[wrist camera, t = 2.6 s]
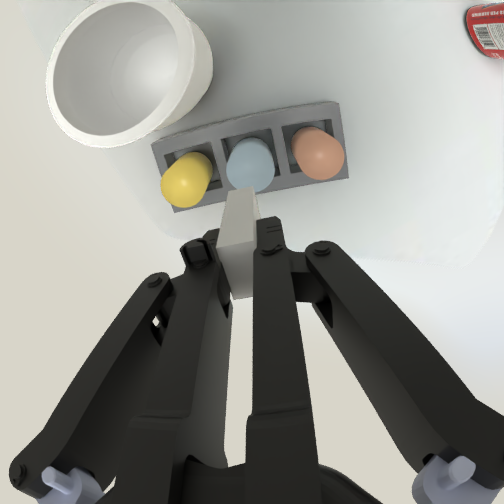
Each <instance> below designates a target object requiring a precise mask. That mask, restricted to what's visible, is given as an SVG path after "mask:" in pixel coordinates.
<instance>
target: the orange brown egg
mask: <svg viewBox="0 0 504 504" xmlns="http://www.w3.org/2000/svg"><path fill="white" fill-rule="evenodd" d="M291 151H292V154H293V156H294V157H295V159H296V161H297V163H298V164H299V166H300V168H301V170H302V171H303V172H304V173H305V174H306V175H307V176H308V177H310V178H312V179H316V180H326V179H329V178H331V177H333V176H335V175H336V174H337V173H338V172H339V171H340V170H341V168H342V166H343V163H344V151H343V148H342V146H341V144H340V143H339V142H338V141H337V140H336V139H335V138H333V137H332V136H330V135H329V134H327V133H326V132H324V131H323V130H321V129H319V128H317V127H312V126H309V127H304V128H301V129H300V130H298V131H297V132H296V133H295V134H294V136H293V137H292V140H291Z"/></svg>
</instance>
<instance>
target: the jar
mask: <svg viewBox="0 0 504 504" xmlns="http://www.w3.org/2000/svg"><path fill="white" fill-rule="evenodd" d="M212 77H213V58H212V51H211V48H210V45H209V42H208V40H207V38H206V36H205V35H204V33H203V32H202V30H201V29H200V28H199V27H198V26H197V25H196V24H195V23H194V22H193V21H192V20H190V19H189V18H188V17H186V15H185V14H184V13H183V11H182V10H181V9H180V8H179V7H178V6H177V5H176V4H175V3H173V2H172V1H171V0H99V1H97V2H95V3H94V4H92V5H90V6H89V7H87V8H86V9H85V10H83V11H82V12H81V13H80V14H79V15H78V16H77V17H76V18H74V20H73V21H72V22H71V23H70V24H69V25H68V26H67V28H66V29H65V30H64V32H63V33H62V34H61V36H60V38H59V39H58V41H57V43H56V45H55V47H54V49H53V52H52V54H51V57H50V60H49V64H48V68H47V74H46V95H47V101H48V105H49V108H50V111H51V113H52V115H53V117H54V119H55V121H56V123H57V124H58V125H59V127H60V128H61V129H62V130H63V131H64V132H65V133H66V134H67V135H68V136H69V137H71V138H72V139H74V140H76V141H77V142H79V143H82V144H84V145H87V146H91V147H97V148H112V147H118V146H122V145H126V144H129V143H132V142H134V141H137V140H139V139H141V138H143V137H145V136H147V135H148V134H150V133H151V132H154V131H157V130H160V129H162V128H165V127H167V126H169V125H171V124H173V123H174V122H176V121H178V120H179V119H181V118H182V117H183V116H185V115H186V114H187V113H188V112H189V111H190V110H192V109H193V108H194V106H195V105H196V104H197V103H198V102H199V100H200V99H201V98H202V96H203V95H204V94H205V93H206V91H207V90H208V88H209V86H210V84H211V81H212Z"/></svg>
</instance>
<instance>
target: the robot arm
mask: <svg viewBox="0 0 504 504" xmlns="http://www.w3.org/2000/svg"><path fill="white" fill-rule="evenodd" d="M180 252H181V255H182V257H183V260H184V262H185V265H186V268H185V271H184V274H182V275H180V276H178V277H175V278H172V279H170V277H169V275H168V274H167V273H164V272H159V273H155V274H152V275H150V276H149V277H147V278H146V279H145V280H144V281H143V282H142V283H141V284H140V286H139V287H138V288H137V290H136V291H135V292H134V294H133V295H132V296H131V298H130V299H129V300H128V302H127V303H126V304H125V306H124V307H123V308H122V310H121V311H120V313H119V314H118V315H117V317H116V318H115V319H114V321H113V322H112V323H111V325H110V326H109V328H108V329H107V330H106V332H105V333H104V335H103V336H102V338H101V339H100V341H99V342H98V343H97V345H96V346H95V348H94V349H93V351H92V352H91V354H90V355H89V357H88V358H87V359H86V361H85V362H84V364H83V365H82V367H81V368H80V370H79V372H78V373H77V375H76V376H75V378H74V379H73V381H72V382H71V384H70V386H69V387H68V389H67V391H66V392H65V394H64V395H63V397H62V398H61V400H60V402H59V403H58V405H57V407H56V408H55V410H54V411H53V413H52V415H51V417H50V418H49V420H48V422H47V423H46V425H45V427H44V429H43V430H42V431H41V432H40V433H39V434H38V435H37V436H36V437H35V438H34V439H33V440H32V441H31V442H30V443H29V444H28V445H27V446H26V447H25V448H24V449H23V450H22V451H21V452H20V453H19V454H18V455H17V456H16V457H15V458H14V460H13V461H12V463H11V465H10V468H9V478H10V481H11V484H12V485H13V487H15V488H16V489H17V490H19V491H21V492H23V493H25V494H27V495H29V496H31V497H33V498H35V499H36V500H37V501H38V503H39V504H383V503H381V502H380V501H378V500H377V499H376V498H374V497H373V496H372V495H370V494H369V493H367V492H366V491H365V490H364V489H362V488H361V487H359V486H358V485H357V484H356V483H355V482H353V481H352V480H351V479H349V478H348V477H347V476H345V475H344V474H342V473H340V472H339V471H337V470H334V469H332V468H330V467H327V466H324V465H320V464H319V463H318V455H317V446H316V437H315V429H314V422H313V413H312V406H311V398H310V391H309V384H308V377H307V370H306V364H305V356H304V350H303V343H302V337H301V330H300V324H299V319H298V312H297V306H296V302H310V303H312V306H313V308H314V310H315V312H316V313H317V315H318V316H319V318H320V320H321V321H322V323H323V324H324V326H325V328H326V329H327V331H328V332H329V334H330V335H331V337H332V339H333V341H334V342H335V344H336V345H337V347H338V349H339V350H340V352H341V353H342V355H343V357H344V358H345V360H346V362H347V363H348V365H349V367H350V368H351V370H352V372H353V373H354V375H355V377H356V378H357V380H358V382H359V383H360V385H361V387H362V388H363V390H364V391H365V393H366V395H367V397H368V398H369V400H370V402H371V403H372V405H373V406H374V408H375V410H376V412H377V413H378V415H379V417H380V419H381V420H382V422H383V424H384V425H385V427H386V429H387V430H388V432H389V434H390V436H391V437H392V439H393V441H394V443H395V444H396V446H397V448H398V449H399V451H400V452H401V454H402V455H403V457H404V458H405V460H406V461H407V462H408V463H409V465H410V466H411V467H412V468H413V469H414V470H415V471H416V472H417V473H418V475H417V477H416V478H415V480H414V482H413V485H412V495H413V498H414V499H415V501H416V503H417V504H491V503H492V501H493V500H494V499H495V497H496V496H497V494H498V493H499V491H500V490H501V489H502V488H503V487H504V416H503V415H501V414H499V413H498V412H496V411H495V410H493V409H491V408H490V407H488V406H487V405H485V404H483V403H482V402H480V401H479V400H477V399H476V398H475V397H474V396H473V394H472V393H471V392H470V390H469V389H468V388H467V387H466V385H465V384H464V383H463V382H462V380H461V379H460V378H459V377H458V375H457V374H456V373H455V372H454V370H453V369H452V368H451V367H450V365H449V364H448V363H447V362H446V361H445V359H444V358H443V357H442V356H441V355H440V353H439V352H438V351H437V350H436V349H435V348H434V346H432V344H431V343H430V342H429V341H428V340H427V338H426V337H425V336H424V335H423V334H422V333H421V332H420V330H419V329H418V328H417V327H416V326H415V325H414V324H413V323H412V321H411V320H410V319H409V318H408V317H407V316H406V315H405V314H404V313H403V312H402V311H401V310H400V308H399V307H398V306H397V305H396V304H395V303H394V302H393V301H392V300H391V299H390V298H389V297H388V295H387V294H386V293H385V292H384V291H383V290H382V289H381V288H380V287H379V286H378V285H377V284H376V283H375V282H374V281H373V280H372V279H371V278H370V277H369V276H368V275H367V274H366V273H365V272H364V271H363V270H362V269H361V268H360V267H359V266H358V265H357V264H356V263H355V262H354V261H353V260H352V259H351V258H350V257H349V256H348V255H347V254H346V253H345V252H344V251H343V250H342V249H341V248H340V247H339V246H338V245H337V244H335V243H334V242H330V241H319V242H314V243H312V244H310V245H309V246H308V247H307V248H306V249H305V252H295V251H291V250H289V249H288V248H287V247H286V245H285V240H284V235H283V230H282V225H281V220H280V219H279V218H277V217H276V216H274V217H269V218H263V219H261V217H260V213H259V208H258V204H257V200H256V196H255V191H254V187H253V186H250V187H246V188H241V189H236V190H232V191H228V196H227V200H226V204H225V209H224V213H223V217H222V222H221V226H220V228H218V229H214V230H209V231H207V232H206V234H205V235H204V236H203V238H197V239H194V240H191V241H189V242H187V243H185V244H184V245H183V246H182V247H181V248H180ZM230 292H231V294H232V297H233V299H234V300H236V299H242V298H248V297H253V388H252V389H253V390H252V391H253V392H252V393H253V395H252V400H253V401H252V414H251V415H249V416H248V419H247V425H246V462H245V463H244V464H239V465H235V466H232V467H228V463H227V459H226V456H225V452H224V434H225V433H224V432H225V416H226V400H227V384H228V369H229V353H230V340H231V325H232V313H233V306H232V303H231V300H230ZM155 316H156V317H157V319H158V320H159V324H158V325H157V326H155V325H154V323H153V322H152V321H153V319H154V318H155ZM115 476H116V480H115V485H114V487H113V488H111V489H110V490H109V491H108V492H107V493H106V494H105V493H103V492H104V490H105V489H106V488H107V487H108V486H109V485H110V484H111V482H112V481H113V479H114V478H115Z"/></svg>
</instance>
